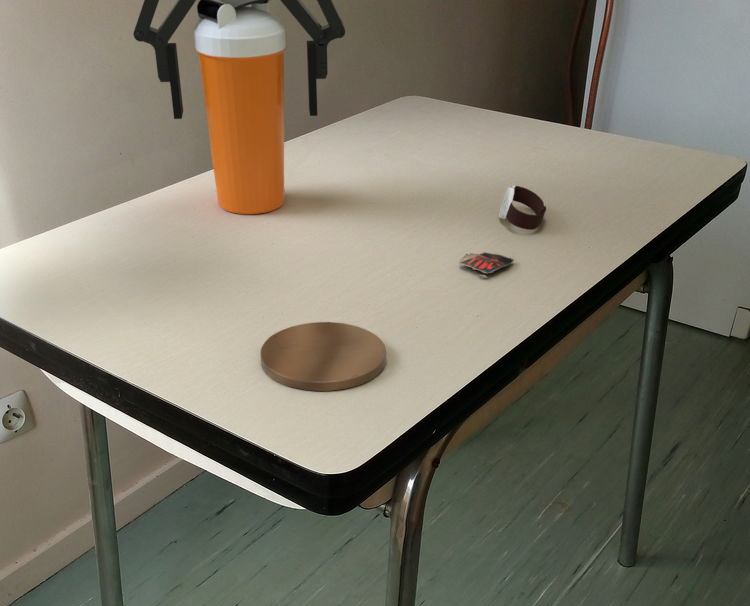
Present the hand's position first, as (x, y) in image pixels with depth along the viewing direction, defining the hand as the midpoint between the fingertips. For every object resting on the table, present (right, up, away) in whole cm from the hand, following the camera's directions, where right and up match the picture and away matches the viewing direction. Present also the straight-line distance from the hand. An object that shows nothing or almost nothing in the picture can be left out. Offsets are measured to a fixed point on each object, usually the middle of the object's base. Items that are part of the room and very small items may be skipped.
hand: (246, 113), depth 102 cm
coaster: (+9, -28, -22) cm, 37 cm away
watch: (+28, -10, +2) cm, 30 cm away
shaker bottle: (0, -8, +6) cm, 9 cm away
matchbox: (+23, -17, -7) cm, 30 cm away
